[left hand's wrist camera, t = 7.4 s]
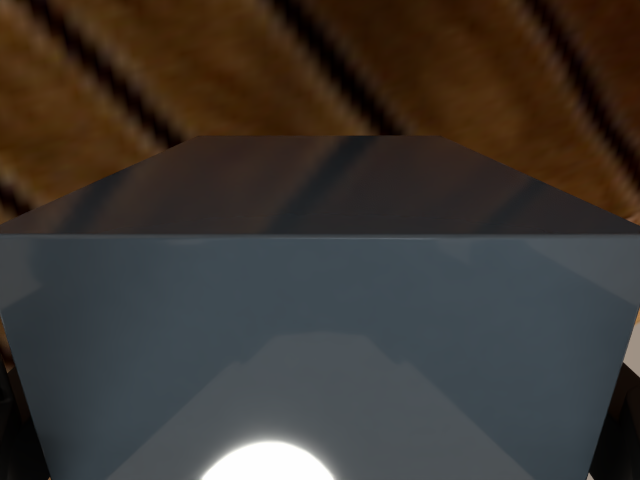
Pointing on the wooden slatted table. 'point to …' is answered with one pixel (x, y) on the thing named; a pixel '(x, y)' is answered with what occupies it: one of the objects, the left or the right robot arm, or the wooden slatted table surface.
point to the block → (319, 315)
